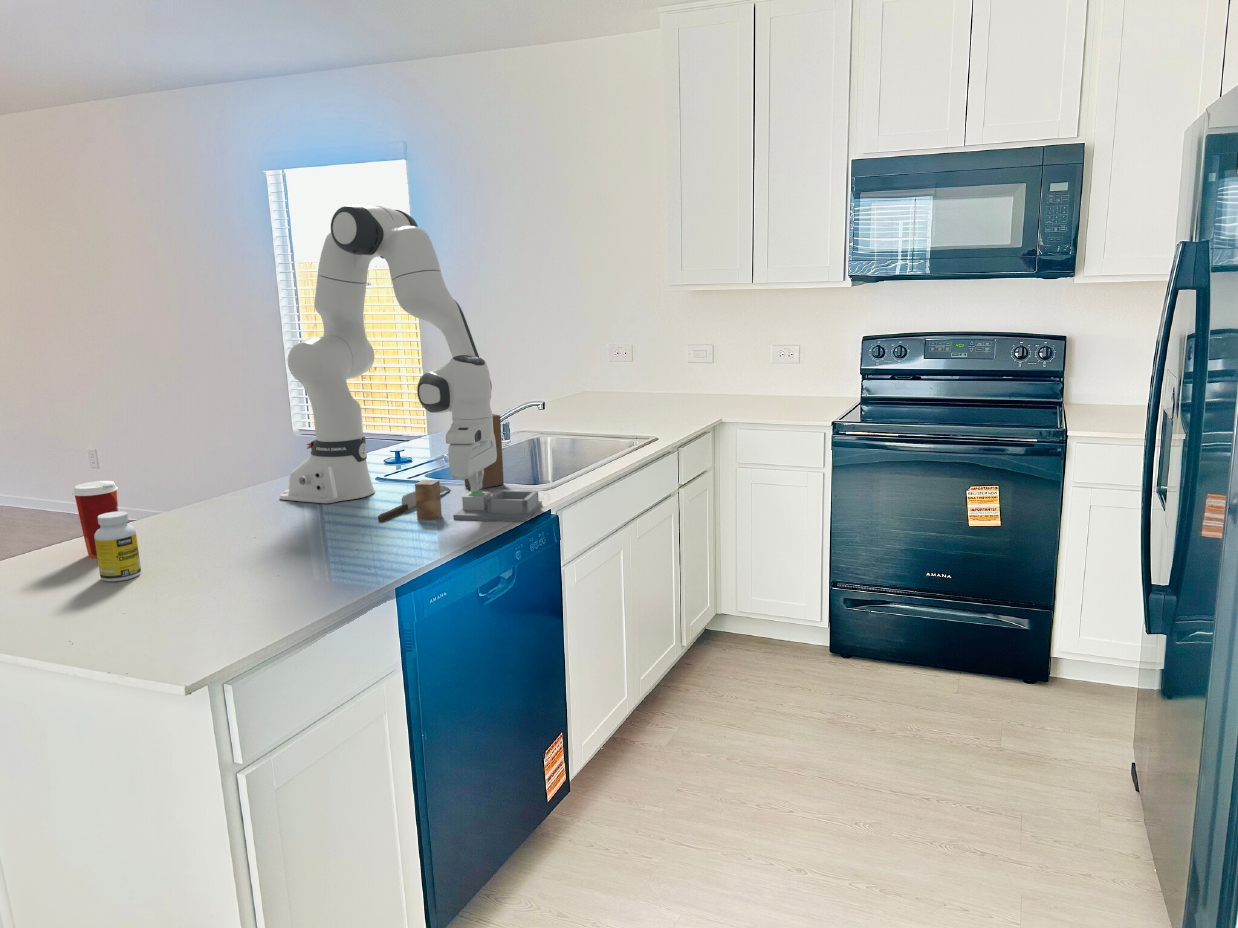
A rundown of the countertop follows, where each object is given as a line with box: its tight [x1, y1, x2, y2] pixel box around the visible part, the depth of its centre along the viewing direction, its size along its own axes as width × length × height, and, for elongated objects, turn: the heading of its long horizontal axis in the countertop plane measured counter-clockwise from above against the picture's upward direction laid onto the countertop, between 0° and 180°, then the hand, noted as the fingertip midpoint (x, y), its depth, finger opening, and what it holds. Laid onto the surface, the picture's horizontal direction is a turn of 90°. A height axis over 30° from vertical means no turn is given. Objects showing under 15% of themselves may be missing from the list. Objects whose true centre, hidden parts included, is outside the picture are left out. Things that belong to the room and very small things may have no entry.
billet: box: [414, 479, 443, 521], centre depth 192 cm, size 4×4×8 cm
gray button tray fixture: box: [452, 489, 543, 523], centre depth 196 cm, size 16×14×4 cm
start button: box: [470, 489, 484, 496], centre depth 196 cm, size 3×3×3 cm
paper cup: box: [72, 480, 119, 559], centre depth 170 cm, size 8×8×14 cm
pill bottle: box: [94, 510, 142, 583], centre depth 156 cm, size 6×6×12 cm
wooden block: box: [464, 413, 505, 490], centre depth 219 cm, size 9×4×18 cm, turn 130°
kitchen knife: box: [377, 484, 451, 523], centre depth 204 cm, size 4×1×30 cm
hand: (476, 490), depth 196 cm, fingers closed, pressing on start button
